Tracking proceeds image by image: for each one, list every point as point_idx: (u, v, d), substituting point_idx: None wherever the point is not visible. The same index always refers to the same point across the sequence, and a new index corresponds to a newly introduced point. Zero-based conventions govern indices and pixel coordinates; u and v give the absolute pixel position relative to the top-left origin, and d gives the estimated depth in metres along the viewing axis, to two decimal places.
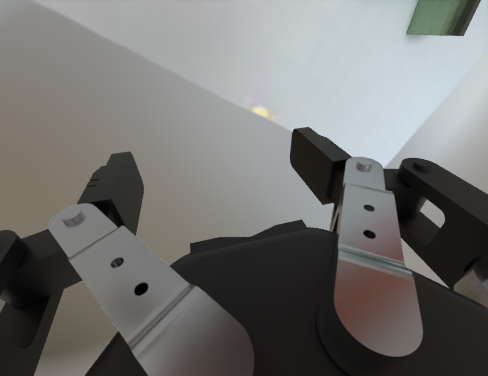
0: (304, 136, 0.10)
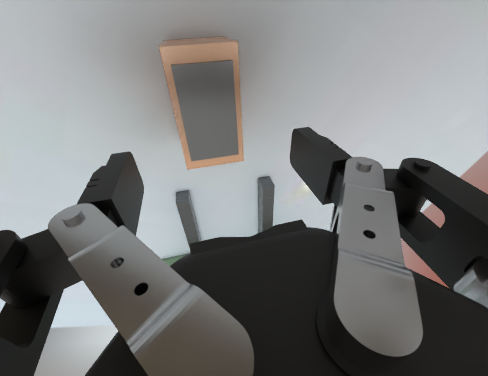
0: (304, 136, 0.10)
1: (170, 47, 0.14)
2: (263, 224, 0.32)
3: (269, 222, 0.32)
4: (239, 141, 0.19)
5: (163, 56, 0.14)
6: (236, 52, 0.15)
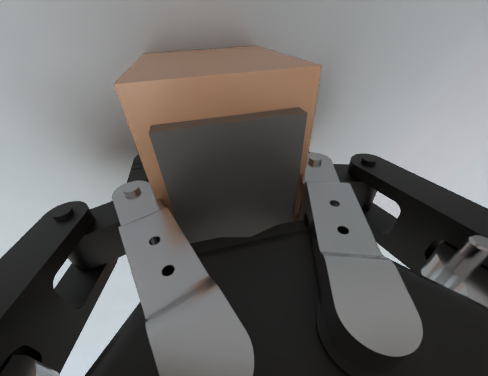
0: None
1: (147, 84, 0.05)
2: None
3: None
4: None
5: (128, 107, 0.05)
6: (313, 91, 0.06)
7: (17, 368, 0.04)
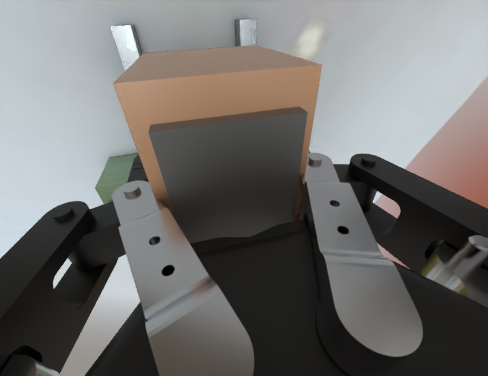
0: None
1: (146, 83, 0.05)
2: None
3: None
4: None
5: (128, 106, 0.05)
6: (313, 90, 0.06)
7: (17, 368, 0.04)
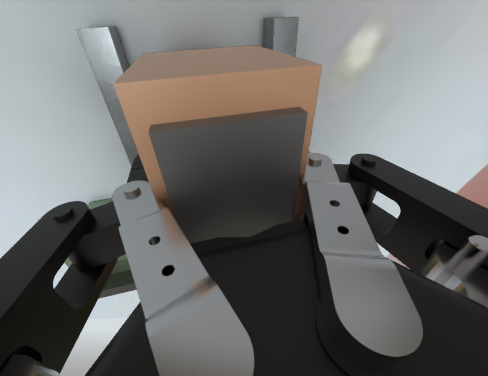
0: None
1: (146, 83, 0.05)
2: None
3: None
4: None
5: (128, 106, 0.05)
6: (313, 90, 0.06)
7: (17, 368, 0.04)
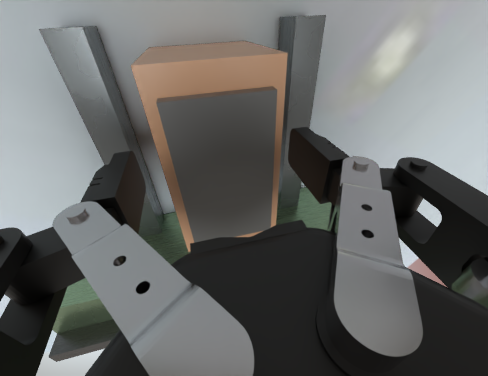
0: (302, 136, 0.10)
1: (155, 66, 0.07)
2: (287, 147, 0.14)
3: None
4: (271, 209, 0.12)
5: (141, 83, 0.07)
6: (282, 73, 0.08)
7: None
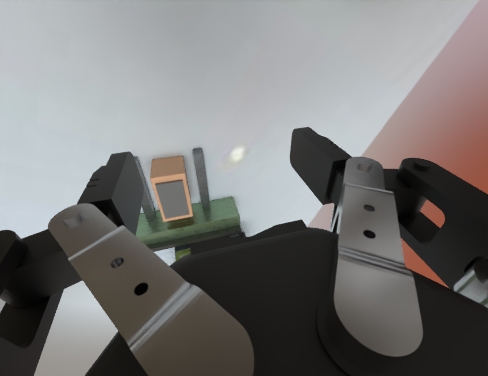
0: (304, 136, 0.10)
1: (155, 178, 0.33)
2: (199, 186, 0.41)
3: (204, 185, 0.41)
4: (189, 208, 0.38)
5: (152, 181, 0.33)
6: (184, 176, 0.34)
7: None
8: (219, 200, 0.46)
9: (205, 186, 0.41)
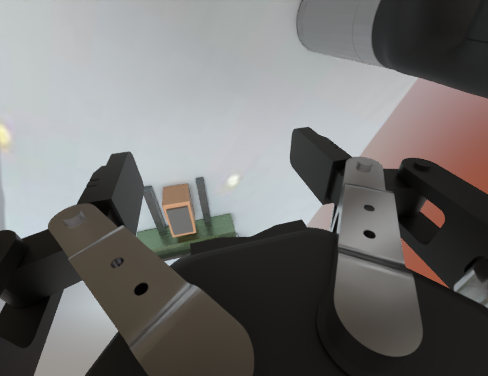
0: (304, 136, 0.10)
1: (166, 205, 0.42)
2: (202, 207, 0.50)
3: (206, 206, 0.50)
4: (193, 226, 0.47)
5: (163, 207, 0.42)
6: (189, 203, 0.43)
7: None
8: (219, 217, 0.55)
9: (206, 207, 0.50)
